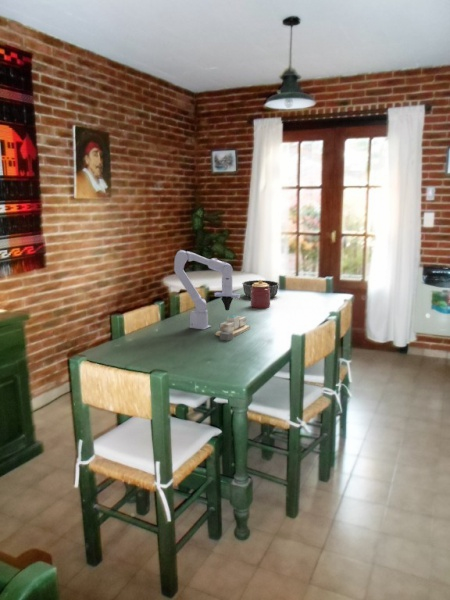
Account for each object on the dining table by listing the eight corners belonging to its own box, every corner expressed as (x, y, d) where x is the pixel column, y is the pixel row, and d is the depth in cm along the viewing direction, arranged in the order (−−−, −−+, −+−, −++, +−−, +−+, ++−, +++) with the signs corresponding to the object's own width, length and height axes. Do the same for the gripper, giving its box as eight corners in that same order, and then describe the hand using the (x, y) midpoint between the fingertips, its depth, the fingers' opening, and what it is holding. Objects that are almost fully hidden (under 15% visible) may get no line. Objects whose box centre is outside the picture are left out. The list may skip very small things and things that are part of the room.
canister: (270, 308, 316) (271, 281, 312) (250, 308, 316) (250, 281, 312) (269, 304, 328) (269, 278, 325) (250, 304, 329) (250, 278, 325)
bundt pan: (285, 295, 359) (285, 281, 357) (268, 301, 337) (268, 287, 335) (253, 292, 372) (253, 279, 370) (235, 298, 351) (235, 284, 349)
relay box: (219, 339, 248) (219, 333, 247) (224, 337, 251) (224, 331, 251) (228, 341, 245) (227, 334, 245) (232, 339, 248) (232, 332, 248)
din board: (215, 335, 256) (215, 323, 254) (234, 326, 273) (233, 315, 271) (232, 337, 251) (232, 325, 250) (250, 328, 268) (250, 317, 267)
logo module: (227, 328, 260) (227, 316, 259) (231, 326, 264) (231, 314, 263) (234, 329, 258) (234, 317, 257) (239, 327, 262) (238, 315, 261)
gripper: (211, 286, 267) (212, 310, 270) (236, 287, 261) (236, 312, 264) (217, 283, 274) (218, 307, 276) (241, 285, 267) (241, 310, 270)
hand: (227, 310), depth 271 cm, fingers closed
